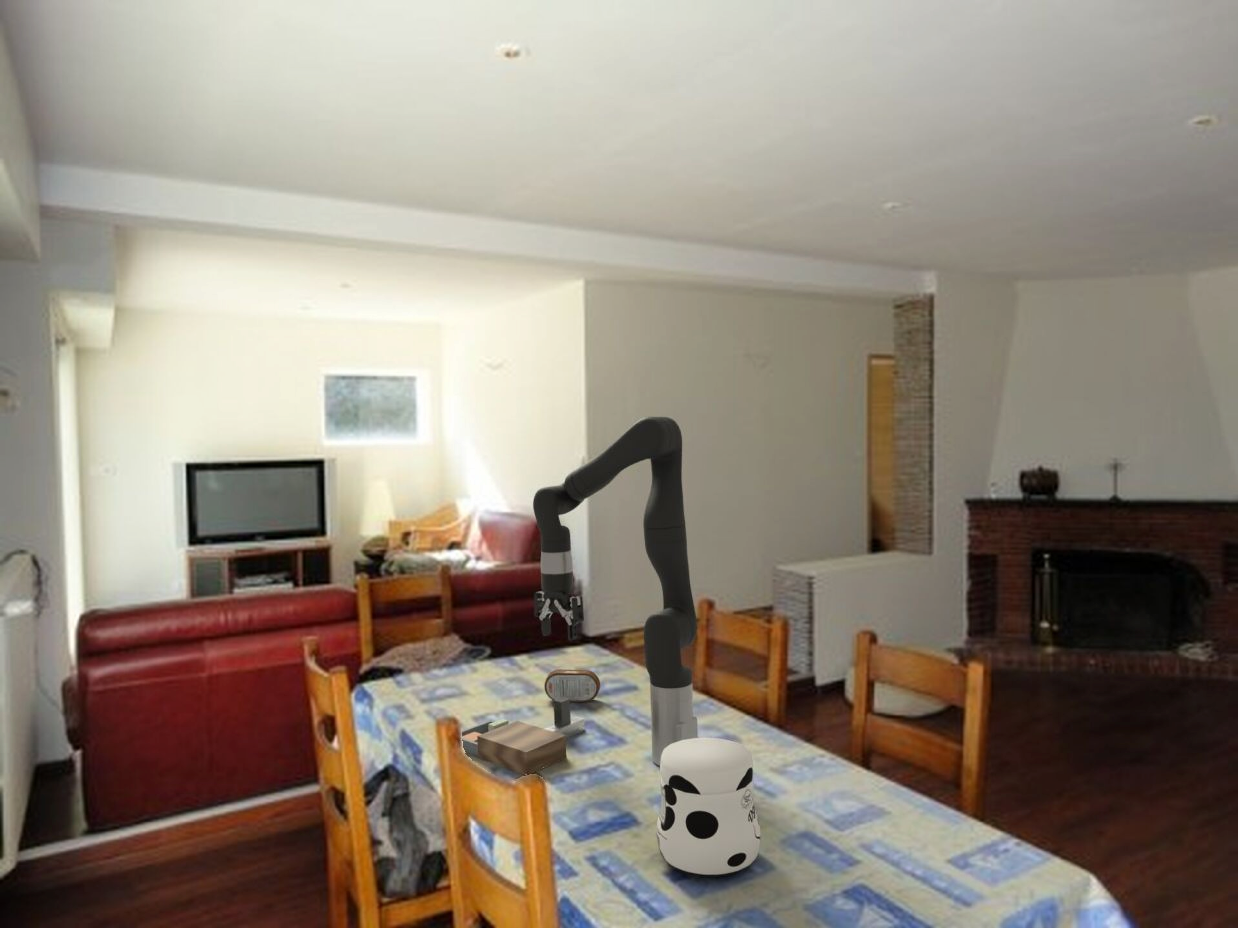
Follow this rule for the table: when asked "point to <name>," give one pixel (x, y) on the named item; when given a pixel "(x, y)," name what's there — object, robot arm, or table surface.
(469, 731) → the tray
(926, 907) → the table surface
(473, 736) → the peach flat block
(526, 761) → the walnut block
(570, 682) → the tin
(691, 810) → the milk container
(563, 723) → the scraper
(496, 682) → the table surface
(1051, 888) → the table surface
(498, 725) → the sage tile
